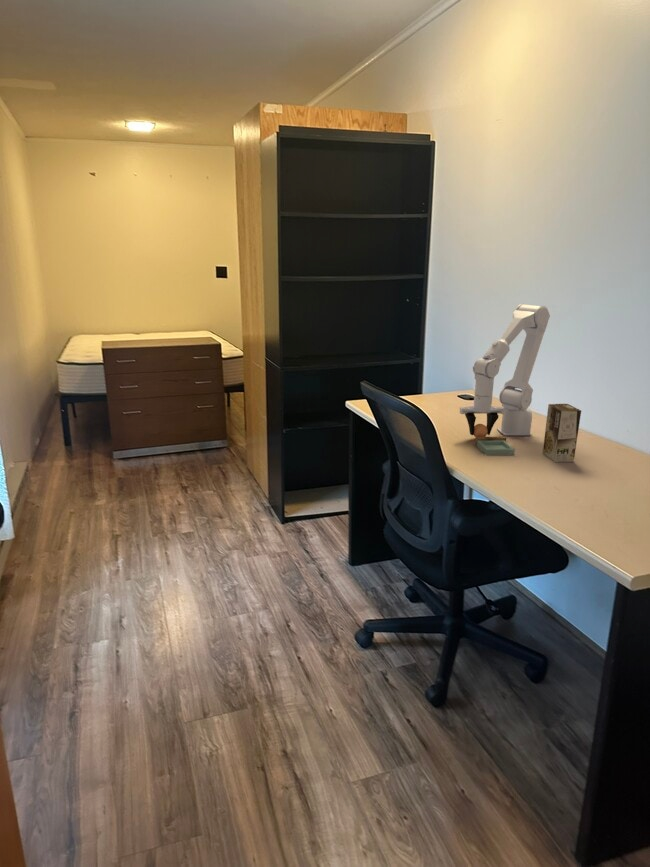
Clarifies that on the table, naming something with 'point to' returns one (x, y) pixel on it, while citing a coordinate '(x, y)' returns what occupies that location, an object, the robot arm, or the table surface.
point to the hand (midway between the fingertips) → (479, 434)
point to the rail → (489, 439)
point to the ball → (480, 430)
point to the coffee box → (561, 432)
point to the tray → (495, 448)
